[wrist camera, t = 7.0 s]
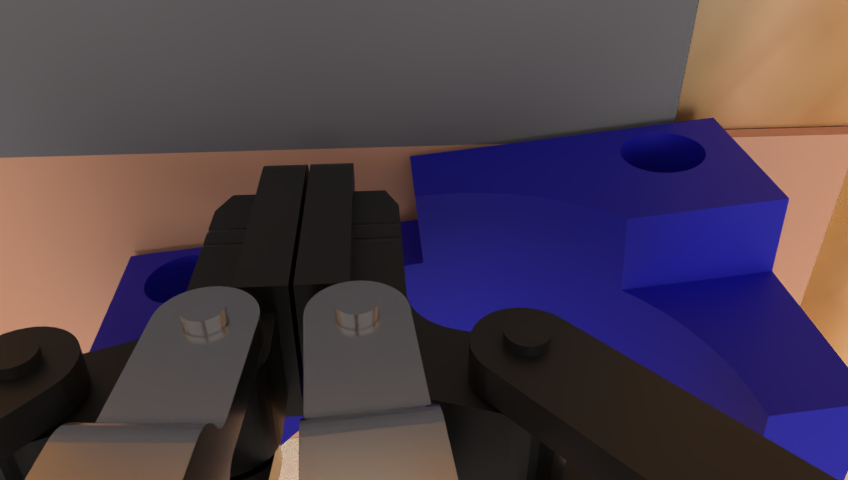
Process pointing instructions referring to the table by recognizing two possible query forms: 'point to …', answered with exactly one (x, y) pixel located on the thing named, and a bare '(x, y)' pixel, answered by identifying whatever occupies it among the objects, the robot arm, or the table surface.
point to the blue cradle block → (607, 268)
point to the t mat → (315, 117)
